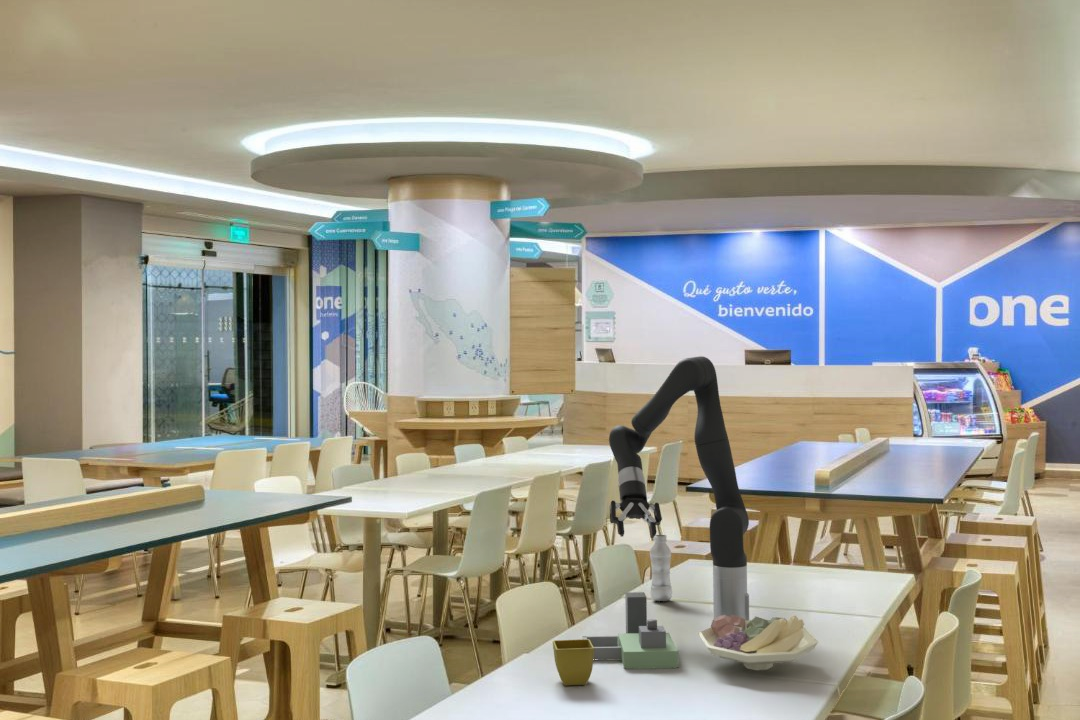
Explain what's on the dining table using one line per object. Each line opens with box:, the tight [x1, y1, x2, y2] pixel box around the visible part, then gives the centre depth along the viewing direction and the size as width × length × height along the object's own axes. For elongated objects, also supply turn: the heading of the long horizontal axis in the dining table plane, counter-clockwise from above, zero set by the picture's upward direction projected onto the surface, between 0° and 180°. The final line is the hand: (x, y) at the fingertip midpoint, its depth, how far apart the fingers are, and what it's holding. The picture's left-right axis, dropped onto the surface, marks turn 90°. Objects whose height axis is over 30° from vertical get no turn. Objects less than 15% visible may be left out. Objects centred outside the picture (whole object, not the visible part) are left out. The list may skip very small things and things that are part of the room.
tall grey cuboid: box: [624, 591, 648, 634], centre depth 297 cm, size 5×6×12 cm
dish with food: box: [698, 615, 819, 671], centre depth 270 cm, size 28×28×14 cm
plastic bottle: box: [649, 534, 673, 602], centre depth 344 cm, size 6×7×20 cm
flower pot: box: [552, 638, 594, 687], centre depth 259 cm, size 9×9×9 cm
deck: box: [582, 618, 679, 669], centre depth 280 cm, size 22×20×10 cm
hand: (637, 535), depth 310 cm, fingers open, 8 cm apart
